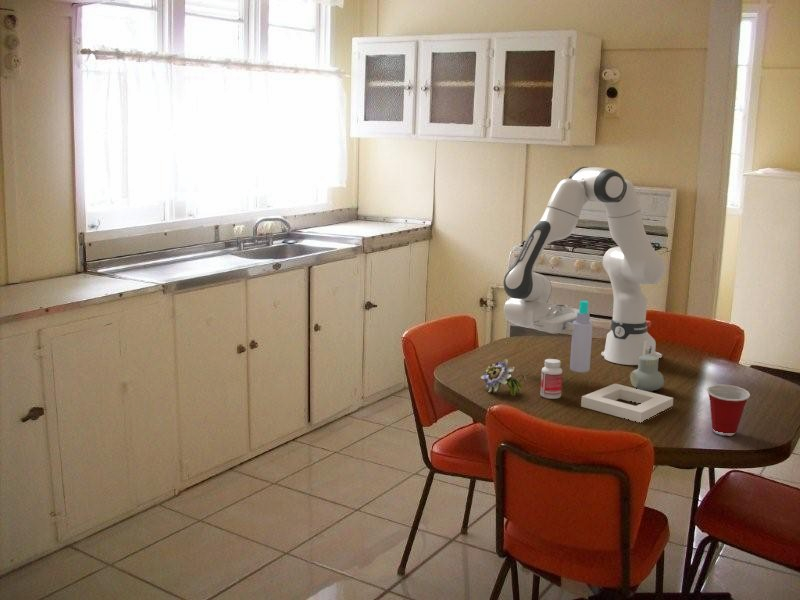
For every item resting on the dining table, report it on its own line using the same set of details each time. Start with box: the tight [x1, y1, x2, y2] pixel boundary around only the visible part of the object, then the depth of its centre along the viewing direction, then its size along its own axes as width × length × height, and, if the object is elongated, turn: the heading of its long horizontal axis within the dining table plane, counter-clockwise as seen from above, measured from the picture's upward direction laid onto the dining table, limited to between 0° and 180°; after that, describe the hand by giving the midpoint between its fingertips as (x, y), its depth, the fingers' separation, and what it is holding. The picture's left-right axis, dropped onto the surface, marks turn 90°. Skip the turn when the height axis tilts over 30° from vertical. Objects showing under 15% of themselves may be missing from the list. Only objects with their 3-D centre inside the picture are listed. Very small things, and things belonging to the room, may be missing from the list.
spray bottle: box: [569, 300, 594, 374], centre depth 270 cm, size 6×6×22 cm
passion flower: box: [480, 358, 527, 398], centre depth 265 cm, size 11×11×12 cm
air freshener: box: [629, 355, 665, 392], centre depth 271 cm, size 11×8×10 cm
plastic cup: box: [706, 383, 751, 433], centre depth 233 cm, size 11×11×12 cm
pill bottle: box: [540, 358, 563, 400], centre depth 261 cm, size 6×6×11 cm
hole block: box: [580, 383, 674, 424], centre depth 253 cm, size 19×19×3 cm
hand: (586, 325), depth 269 cm, fingers closed on spray bottle, 4 cm apart
